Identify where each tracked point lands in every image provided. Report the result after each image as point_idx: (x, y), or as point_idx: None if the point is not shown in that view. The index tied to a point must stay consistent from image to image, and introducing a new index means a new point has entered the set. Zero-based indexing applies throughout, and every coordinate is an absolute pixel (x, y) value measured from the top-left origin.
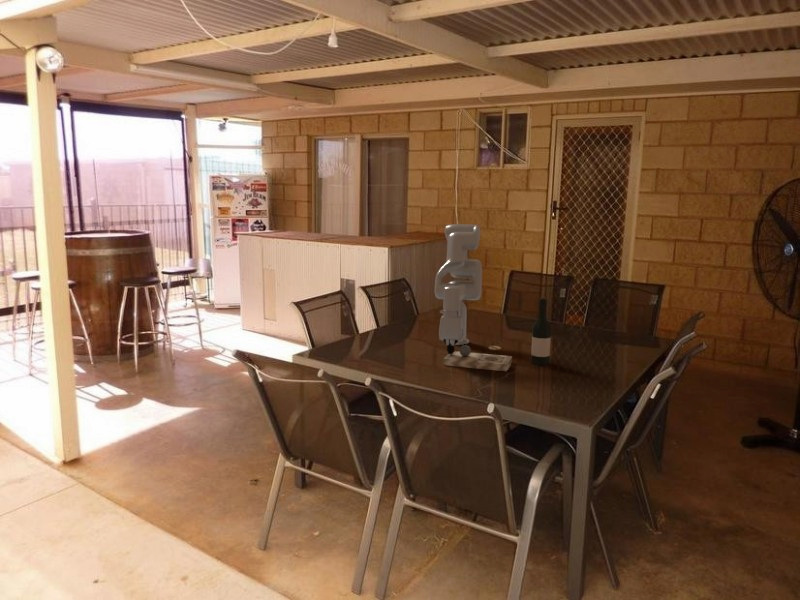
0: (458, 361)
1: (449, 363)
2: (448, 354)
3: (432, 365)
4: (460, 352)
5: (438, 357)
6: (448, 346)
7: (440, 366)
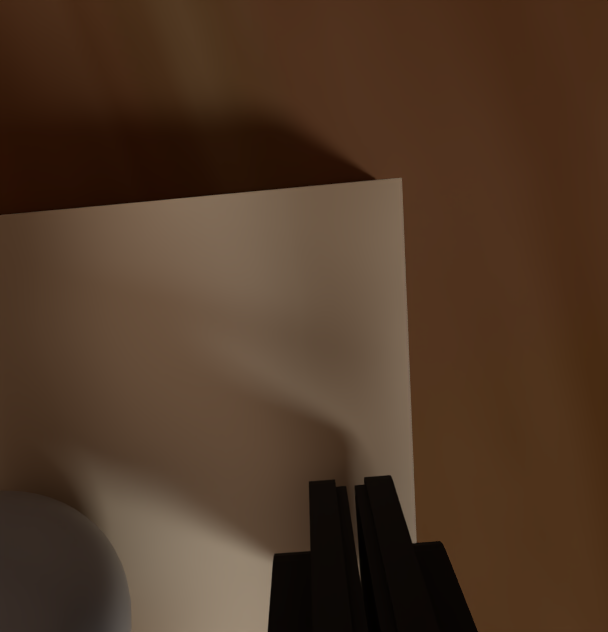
0: (52, 210)
1: (263, 190)
2: None
3: (573, 72)
4: (65, 530)
5: (584, 566)
6: (429, 622)
7: (408, 74)
